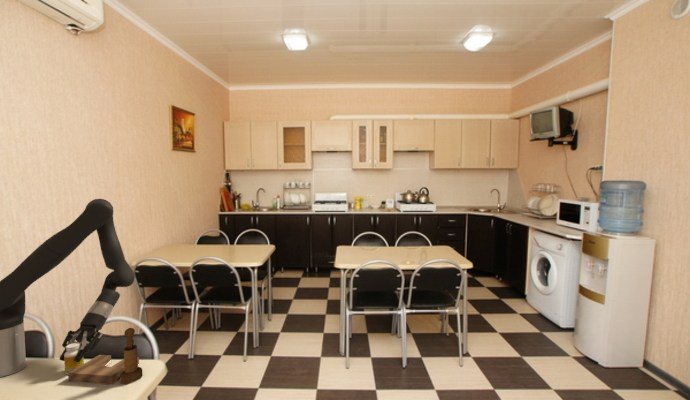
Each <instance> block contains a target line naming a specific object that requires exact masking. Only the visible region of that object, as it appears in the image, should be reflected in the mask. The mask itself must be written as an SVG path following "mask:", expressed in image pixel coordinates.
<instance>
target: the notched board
mask: <svg viewBox="0 0 690 400" xmlns="http://www.w3.org/2000/svg"><path fill="white" fill-rule="evenodd" d="M110 360H111V361H112V354H111V355H110V354H109V355H106V354H99V355H96V356H94V357H93V358H92V359H89V360H88V361H86V362H84V364H83V365H81V366H79V367H78V368H76V369H74V370H72V371H71V372H69V374H68V382H74V383H76V382H77V383H87V384H88V383H89V384H102V385H113V384H114V383H116V382H117V381H120V374H121V373H122V372H123V371H124V358H122V359H121V360H119V361H118V362H116V363H114V364H113V365H112V366H105V365H106V364H107V363H108V362H109V361H110ZM137 364H139V365H140V357H139V356H137Z"/></svg>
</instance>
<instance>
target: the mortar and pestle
mask: <svg viewBox="0 0 690 400" xmlns="http://www.w3.org/2000/svg"><path fill="white" fill-rule="evenodd" d="M135 331H136V330H135V329H134V328H133V327H129V328H126V329H125V330H124V336H125V338H127V339H126V341H125V344H126V347H124V348H123V359H124V371H123V372H122V373H121V374H120V379H119V382H120V384H124V385H128V384H131V383H134V382H137V381H139V380H140V379H141V378H143V376H144V375H143V368H142V367H140V366H139V365H138V364H137V357H138V346H137V345H136V344H134V343H135V340H134V339H133V337H134V336H135V333H136V332H135Z"/></svg>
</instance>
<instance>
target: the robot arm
mask: <svg viewBox="0 0 690 400" xmlns="http://www.w3.org/2000/svg"><path fill="white" fill-rule="evenodd" d="M95 231H96V233H97V237H98V240H99V241H98V242H99V246H100V247H99V248H100V251H101V256H102V258H103V261H104V263H105V267H106V268H107V269H109V270H112V271H111V272H109V273H108V274H107V276H106V277H105V279H104V282H103V285H102V288H101V290H100V293H99V295H98V297H97V298H96V300H95V301H94V303H93V304H92V305H91V306H90V308H89V309H88V310H87V312H86V314H85V315H84V316H83V318H82V320H81V321H80V322H79V324H80V326H79V327H78V329H76V330H69V331H68V332H67V334H66V337H65V338H64V341H63V342H62V345H61V347H63V348H64V350H63V351H62V353H61V355H60V356H59V360H60V361H63V362H64V354H65V353H66V352H67V351H66V346H67V345H69V344H72V343H80V344H81V346H80V348H81V350H79V352H78V353H77V355H76V356H75V358H74V361H76V362H79V361H80V360H81V359H82V358H83V357H85V354H86V353H87V352H89V351H93V350H94V349H95V348H96V346H98V343H99V342H100V341H101V340H102V339H103V337H104V333H102V332H99V331H100V330H102V328H104V325H105V324H106V322H107V321H108V318H109V317H110V315H111V314H112V312H113V310H114V307H115V306H116V304H117V303H118V301H119V299H120V296H121V294H120V292H119V291H116V290H117V288H128V287H130V286H132V285H133V284H134V283H135V279H136V278H135V277H136V276H135V273H134V271H133V268H132V267H131V266H130V264H129V263H128V261H127V260H126V258H125V254H124V251H123V248H122V245H121V242H120V240H119V237H118V233H117V231H116V226H115V223H114V206H113V205H112V203H111V202H110V201H108V200H107V199H105V198H104V199H103V198H95V199H92V200H90V201H89V202H88V203H87V204H86V206H85V209H84V210H83V211H82V212H81V214H79V216H77V218H75V220H74V221H73V222H71V223H70V224H69V225H68V226H66V227H65V228H63V229H61V230H59V231H58V232H57V233H54V234H53V235H52V236H50V237H48V239H46V240H45V241H44V242H42V244H39V246H38V247H36V248H35V250H33V251H32V252H31V253H30V254H29V255H28V256H27V257H26V258H25V259H24V260H23V261H22V262H21V263H20V264H19V265H18V266H17V267H16V268H15V269H14V270H12V272H11V273H9V274H8V275H7V276H5V277H3V278H2V279H1V280H0V378H2V377H7V376H10V375H13V374H15V373H18V372H20V371H21V370H23V369H24V367H25V368H26V366H27V360H26V359H27V358H26V342H25V341H26V340H25V321H24V317H25V314H26V290H27V289H28V288H29V287H30V286H31V285H32V284H34V283H35V282H36V281H37V280H39V279H41V278H42V277H43V276H45V275H46V274H48V273H49V272H51V271H52V270H54V269H55V268H56V267H57V266H58V265H60V264H61V263H62V262H63V261H64V260H66V259H67V258H68V257H69V256H70V255H71V254H72V253H73V252H74V251H75V250H76V249H77V248H78V247H79V246H80V245H82V244H83V242H84V241H85V240H86V239H87V238H88V237H89V236H90V235H91V234H93V233H94V232H95Z"/></svg>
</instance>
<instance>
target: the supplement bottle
mask: <svg viewBox="0 0 690 400" xmlns="http://www.w3.org/2000/svg"><path fill="white" fill-rule="evenodd" d="M79 350H81V343H72V344H69V345H67V346H66V351H67V352H66V353H65V354H64V361H63V362H64V373H65V375H69V372H71V371H72V370H74V369H76V368H78V367H79V366H81V365H83V364H84V363H85V361H84V357H85V356H83V358H82V359H81V360H80V361H79V362H76V361H74V358H75V356H76V355H77V353H78V352H79Z"/></svg>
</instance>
